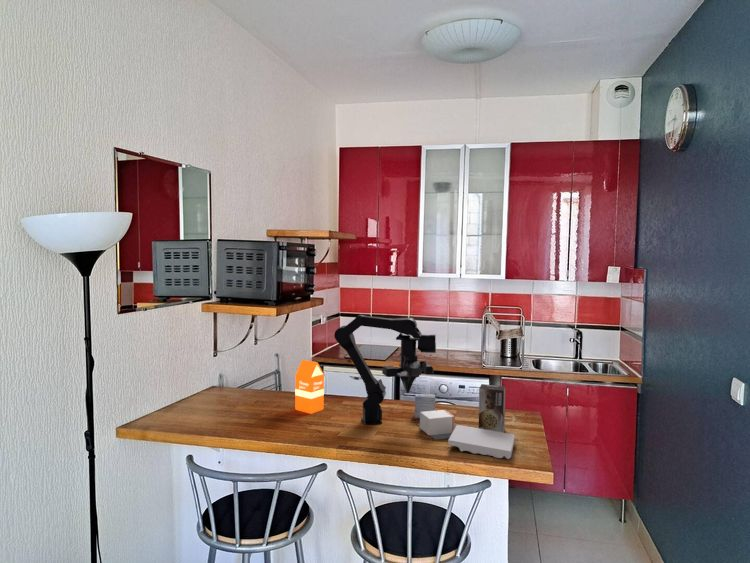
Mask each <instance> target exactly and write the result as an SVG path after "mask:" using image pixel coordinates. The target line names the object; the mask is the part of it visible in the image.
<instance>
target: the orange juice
mask: <svg viewBox="0 0 750 563" xmlns="http://www.w3.org/2000/svg"><path fill="white" fill-rule="evenodd" d="M324 376H325V374H324V373H323V370H322V368H321V367H320V364H319V363H318V362H316V361H313V360H306V359H302V360H301V361H300V364H299V365H298V368H297V370H296V373H295V389H294V391H295V392H294V395H295V397H294V398H295V400H294V401H295V404H294V406H295V407H294V409H295V410H296V411H299V412H303V413H305V414H306V413H307V414H310V415H312V414H314V413H317V412H320V411H322V410H324V404H325V401H324V400H325V398H324V394H325V389H324V388H325V386H324V385H325V377H324Z"/></svg>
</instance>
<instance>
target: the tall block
mask: <svg viewBox="0 0 750 563" xmlns="http://www.w3.org/2000/svg"><path fill="white" fill-rule="evenodd" d="M455 417H456V416H455V415H453V414H452V413H450V412H449V411H448V410H446V409H440V410H439V409H437V410H436V409H435V411H425V412H420V418H419V424H420V427H419V429H420V430H422V432H424V433H425V434H426V435H428V436H430V435H438V434H447V433H453V431H454V426H455V424H456V423H455V422H456V420H455Z"/></svg>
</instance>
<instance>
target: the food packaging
mask: <svg viewBox="0 0 750 563" xmlns="http://www.w3.org/2000/svg"><path fill="white" fill-rule="evenodd" d="M456 425H457V426H456V427H455V429H454V431H453V433H452V434H451V436H450V438H449V439H447V442H448V443H447V445H448V446H453V447H457V448H458V449H459V451H460V452H465V451H466V452H469V453H471V454H474V455H475V454H480V455H482V456H493V458H496V459H497V458H498V459H502V458H505V459H507V460H510V459H511V458H512V454H513V450H514V449H513V448H514V444H515V439H516V434H513V433H510V432H509V433H507V432H504V433H503V432H497V431H491V430H485V429H479V428H478V427H471V426H467V425H461V424H456Z"/></svg>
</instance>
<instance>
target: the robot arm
mask: <svg viewBox="0 0 750 563" xmlns="http://www.w3.org/2000/svg"><path fill="white" fill-rule="evenodd" d="M360 327H368V328H376V329H383V330H384V329H385V330H391V331H394V332H398V333H399V334H398V335H397V336H396V337H395V341H397V340H398V341H400V352H399V356H400V363H399V367H395V366H393V365H383V367H382V371H381V372H382V373H381V374H382V375H383V376H385V377H387V378H390V377H396V376H397V377H399V378H400V380H401V382H402V386H403V388H404V390H405V393H406V394H409V393H410V391H411V388H412V386H413V383H414V382H415V380H416V378H419V377H420V376H421V375H422V372H423V373H424V374H425V375H434V367H433V365H431V364H428V363H427V362H426V361H425V360H422V361H419V360H418V355H417V350H418V351H420V353H426V354H427V353H428V354H436V353H437V352H436V351H437V350H436V349H437V342H436V340H437V338H436V337H437V336H436V333H435V334H422V332H421V331H420V329H419V327H418V323H417V321H416V320H415V318H413V317H400V318H399V317H397V318H387V317H380V316H372V315H364V314H358V315H357V316H355V318H354V319H352V320H351V321H350V322H349V323H348V324H347V325H342V326H340V327H338V328H337V329H336V330H335V332H334V335H333V337H334V339H335V341H336V342H337V343H338V344H339V346H340V347H341V348H342V349H343V350H344V351H346V353H347V355H348V356H349V359H350V360H351V362H352V363H353V365H354V367H355V369H356V371H357V373H358V374H359V377H360V378H361V380H362V381H363V384H364V387H365V391H366V394H367V396H366V397H365V399H364V400H363V402H362V417H361V421H362V422H363V423H364V424H365V425H376V424H377V425H378V424H383V421H382V420H383V409H382V405H380V404H381V403H383V401H384V400H385V397H386V395H387V392H386V388H387V387H386V386H385V385H384V384H383V380H382V379H381V378H380V379H376V378H375V376H374V375H373V373H372V371H371V369H370V367H369V366H368V364H367V362H366V361H365V359H364V357H363V355H362V353H361V351H360V349H359V348H358V345H357V343H356V339H355V334H354V332H355V331H356V330H358V329H359V328H360Z"/></svg>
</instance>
